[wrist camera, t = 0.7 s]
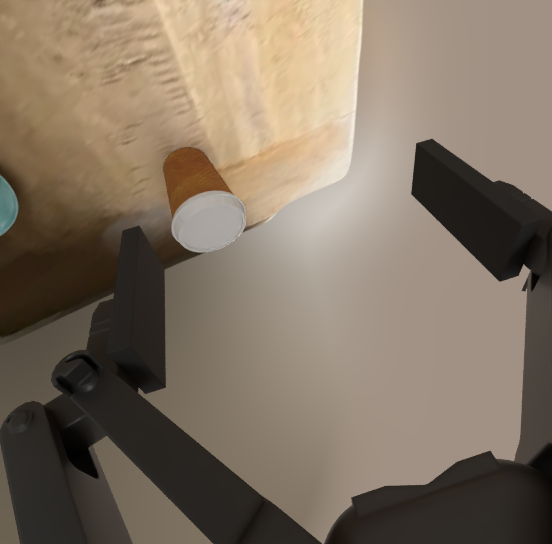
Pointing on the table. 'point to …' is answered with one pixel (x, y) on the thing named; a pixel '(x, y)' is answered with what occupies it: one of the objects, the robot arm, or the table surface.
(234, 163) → the table surface
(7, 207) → the saucer
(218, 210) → the disposable coffee cup
